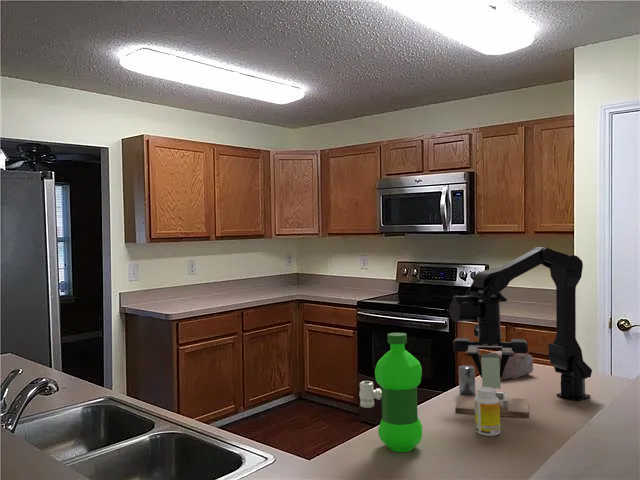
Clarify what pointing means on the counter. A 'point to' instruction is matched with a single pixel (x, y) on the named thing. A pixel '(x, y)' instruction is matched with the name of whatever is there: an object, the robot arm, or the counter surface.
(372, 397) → the valve
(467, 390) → the round peg
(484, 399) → the supplement bottle
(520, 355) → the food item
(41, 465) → the counter surface
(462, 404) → the bore board
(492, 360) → the square peg
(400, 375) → the plastic bottle
